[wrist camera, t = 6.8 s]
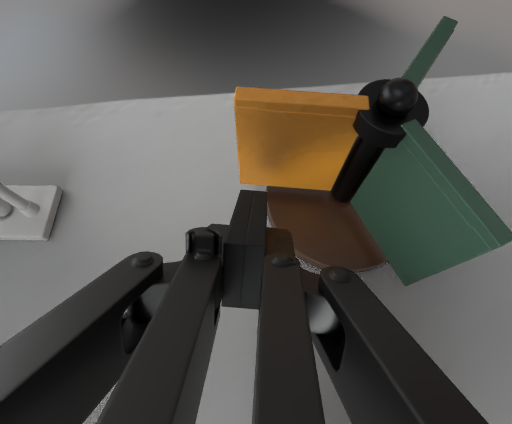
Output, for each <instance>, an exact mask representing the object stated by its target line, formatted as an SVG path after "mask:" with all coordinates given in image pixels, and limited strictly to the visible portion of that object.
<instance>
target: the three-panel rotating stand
mask: <svg viewBox="0 0 512 424" xmlns="http://www.w3.org/2000/svg"><path fill="white" fill-rule="evenodd" d="M456 25H457V21H456V20H453V19H451V18H448V17H446V16H444V17H443V18H442V19H441V21H440V22H439V24H438V25H437V26H436V28H435V29H434V31H433V32H432V34H431V35H430V37H429V38H428V40H427V41H426V42H425V44H424V45H423V47H422V48H421V50H420V51H419V53H418V54H417V55H416V57H415V59H414V60H413V61H412V63H411V64H410V66H409V67H408V68H407V70H406V71H405V73H404V74H403V76H402V77H401V78H395V79H392V80H390V79H384V80H377V81H374V82H371V83H369V84H367V85H366V86H365V87H364V88H362V90H361V91H360V92H359V94H358V95H348V94H334V93H320V92H306V91H292V90H278V89H264V88H250V87H236V90H235V96H234V104H235V106H234V108H235V121H236V134H237V147H238V160H239V173H240V183H241V184H252V185H264V186H277V187H289V188H302V189H314V190H327V191H331V189H332V195H333V197H334V198H335V199H336V200H337V201H339V202H344V203H345V202H349V201H350V203H351V204H352V206H353V207H354V209H355V211H356V212H357V214H358V215H359V217H360V218H361V220H362V221H363V223H364V224H365V226H366V227H367V229H368V230H369V232H370V233H371V235H372V237H373V238H374V240H375V241H376V243H377V244H378V246H379V247H380V249H381V250H382V252H383V253H384V255H385V256H386V258H387V259H388V261H389V263H390V264H391V266H392V267H393V269H394V270H395V272H396V273H397V275H398V276H399V278H400V279H401V281H402V283H403V284H404V285H405V286H407V285H410V284H412V283H414V282H417V281H419V280H422V279H424V278H427V277H429V276H431V275H434V274H436V273H439V272H441V271H443V270H446V269H448V268H451V267H453V266H455V265H458V264H460V263H463V262H465V261H467V260H470V259H472V258H475V257H477V256H479V255H482V254H484V253H487V252H489V251H491V250H494V249H496V248H498V247H501V246H503V245H505V244H506V243H508V242H510V241H512V232H511V231H510V229H509V228H508V227H507V226H506V225H505V223H504V222H503V221H502V220H501V219H500V218H499V216H498V215H497V214H496V213H495V212H494V211H493V209H492V208H491V207H490V206H489V205H488V203H487V202H486V201H485V200H484V199H483V198H482V196H481V195H480V194H479V193H478V192H477V191H476V189H475V188H474V187H473V186H472V185H471V183H470V182H469V181H468V180H467V179H466V178H465V176H464V175H463V174H462V173H461V172H460V171H459V169H458V168H457V167H456V166H455V165H454V163H453V162H452V161H451V160H450V159H449V158H448V156H447V155H446V154H445V153H444V152H443V150H442V149H441V148H440V147H439V146H438V145H437V143H436V142H435V141H434V140H433V139H432V138H431V136H430V135H429V134H428V133H427V132H426V130H425V129H424V128H423V126H424V125H425V124H426V122H427V120H428V116H429V108H428V104H427V102H426V100H425V98H424V97H423V96H422V94H421V93H420V92H419V91H418V90H417V88H418V87H419V85H420V84H421V82H422V80H423V79H424V77H425V76H426V74H427V72H428V71H429V69H430V67H431V66H432V64H433V63H434V61H435V60H436V58H437V57H438V55H439V53H440V52H441V50H442V49H443V47H444V45H445V44H446V42H447V41H448V39H449V37H450V36H451V34H452V33H453V31H454V28H455V26H456ZM357 135H358V136H357ZM356 137H357V139H356ZM355 139H356V141H355ZM354 141H355V143H354ZM353 144H354V145H353ZM352 146H353V147H352ZM351 148H352V149H351ZM350 150H351V151H350ZM349 152H350V153H349ZM348 154H349V155H348ZM347 156H348V157H347ZM346 158H347V159H346ZM345 160H346V161H345ZM344 162H345V163H344ZM343 164H344V165H343ZM342 166H343V167H342ZM341 168H342V169H341ZM340 170H341V171H340ZM339 172H340V173H339ZM338 174H339V175H338ZM337 176H338V177H337ZM336 178H337V179H336ZM335 180H336V181H335ZM332 187H333V188H332Z"/></svg>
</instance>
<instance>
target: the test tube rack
mask: <svg viewBox="0 0 512 424" xmlns="http://www.w3.org/2000/svg"><path fill="white" fill-rule="evenodd" d="M62 192H63V190H62V189H61V188H59V187H58V186H23V185H3V184H1V183H0V240H48V239H49V236H50V232H51V229H52V226H53V222H54V219H55V215H56V212H57V209H58V205H59V202H60V199H61V195H62Z"/></svg>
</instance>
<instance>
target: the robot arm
mask: <svg viewBox="0 0 512 424" xmlns="http://www.w3.org/2000/svg"><path fill="white" fill-rule="evenodd" d="M267 199H268V192H264V191H251V190H241V191H240V194H239V197H238V200H237V203H236V206H235V209H234V212H233V215H232V218H231V221H230V225H222V224H211V225H209V226H208V227H200V228H194V229H191V230H189V231H188V232H187V233H186V255H185V256H184V258H183V260H182V261H178V262H171V263H163V257H162V256H161V255H160V254H157V253H154V252H139V253H136V254H132V255H130V256H128V257H127V258H125V259H124V260H122V261H121V262H119V263H118V264H117V265H115V266H114V267H112V268H111V269H109V270H108V271H107V272H105V273H104V274H102V275H101V276H99V277H98V278H97V279H95V280H94V281H92V282H91V283H89V284H88V285H87V286H85V287H84V288H82V289H81V290H79V291H78V292H77V293H75V294H74V295H72V296H71V297H69V298H68V299H67V300H65V301H64V302H62V303H61V304H59V305H58V306H57V307H55V308H54V309H52V310H51V311H49V312H48V313H47V314H45V315H44V316H42V317H41V318H39V319H38V320H37V321H35V322H34V323H32V324H31V325H29V326H28V327H27V328H25V329H24V330H22V331H21V332H19V333H18V334H17V335H15V336H14V337H12V338H11V339H9V340H8V341H7V342H5V343H4V344H2V345H1V346H0V424H82V423H83V422H84V421H85V420H86V419H87V417H88V416H89V415H90V414H91V413H92V411H93V410H94V409H95V408H96V407H97V405H98V404H99V403H100V402H101V401H102V399H103V398H104V397H105V396H106V395H107V393H108V392H109V391H110V390H111V389H112V387H113V386H114V385H115V384H116V383H117V381H118V380H119V381H118V383H117V385H116V387H115V388H114V390H113V392H112V394H111V396H110V398H109V400H108V402H107V404H106V405H105V407H104V409H103V411H102V413H101V415H100V417H99V419H98V420H97V422H96V424H195V422H196V417H197V413H198V408H199V404H200V400H201V395H202V391H203V387H204V382H205V378H206V374H207V369H208V365H209V361H210V356H211V352H212V348H213V343H214V339H215V334H216V330H217V326H218V321H219V317H220V303H221V299H222V306H224V307H236V308H248V309H259V319H258V330H257V351H256V366H255V382H254V398H253V414H252V424H325V419H324V413H323V406H322V400H321V394H320V388H319V381H318V375H317V369H316V362H315V356H314V350H313V344H312V341H313V343H314V345H315V347H316V349H317V351H318V353H319V355H320V357H321V359H322V362H323V364H324V366H325V368H326V370H327V372H328V374H329V376H330V378H331V380H332V383H333V385H334V387H335V389H336V391H337V393H338V395H339V397H340V399H341V401H342V404H343V406H344V408H345V410H346V412H347V414H348V416H349V418H350V420H351V422H352V424H488V423H487V421H486V420H485V419H484V418H483V417H482V416H481V415H480V413H479V412H478V411H477V410H476V409H475V408H474V407H473V406H472V404H471V403H470V402H469V401H468V400H467V399H466V398H465V396H464V395H463V394H462V393H461V392H460V391H459V390H458V389H457V387H456V386H455V385H454V384H453V383H452V382H451V381H450V379H449V378H448V377H447V376H446V375H445V374H444V373H443V372H442V370H441V369H440V368H439V367H438V366H437V365H436V364H435V362H434V361H433V360H432V359H431V358H430V357H429V356H428V355H427V353H426V352H425V351H424V350H423V349H422V348H421V347H420V345H419V344H418V343H417V342H416V341H415V340H414V339H413V338H412V336H411V335H410V334H409V333H408V332H407V331H406V330H405V328H404V327H403V326H402V325H401V324H400V323H399V322H398V321H397V319H396V318H395V317H394V316H393V315H392V314H391V313H390V312H389V310H388V309H387V308H386V307H385V306H384V305H383V304H382V302H381V301H380V300H379V299H378V298H377V297H376V296H375V295H374V293H373V292H372V291H371V290H370V289H369V288H368V287H367V285H366V284H365V283H364V282H363V281H362V280H361V279H360V278H359V276H358V275H357V274H355V273H354V272H353V271H351V270H349V269H347V268H345V267H341V266H329V267H325V268H323V269H322V270H321V272H320V275H319V274H315V273H312V272H309V271H306V270H304V269H302V268H301V267H300V262H299V261H298V259H297V258H296V257H295V251H294V245H293V237H292V233H291V232H290V231H289V230H288V229H283V228H270V227H266V223H267ZM126 309H127V312H126V313H125V314H124V312H125V311H126ZM123 314H124V315H123Z"/></svg>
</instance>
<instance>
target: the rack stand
mask: <svg viewBox="0 0 512 424" xmlns="http://www.w3.org/2000/svg"><path fill="white" fill-rule="evenodd" d="M356 139H357V137H356ZM356 139H355V141H356ZM355 141H354V143H355ZM353 145H354V144H353ZM352 147H353V146H352ZM351 149H352V148H351ZM350 151H351V150H350ZM349 153H350V152H349ZM348 155H349V154H348ZM347 157H348V156H347ZM346 159H347V158H346ZM345 161H346V160H345ZM344 163H345V162H344ZM343 165H344V164H343ZM342 167H343V166H342ZM341 169H342V168H341ZM340 171H341V170H340ZM339 173H340V172H339ZM338 175H339V174H338ZM337 177H338V176H337ZM336 179H337V178H336ZM335 181H336V180H335ZM332 188H333V187H332ZM266 192H268V199H267V214H268V217H269V221H270V223H271V225H272V228H283V229H288V230H289V231H290V232H291V233H292V237H293V245H294V251H295V255H296V256H297V257H299V258H300V259H302V260H304V261H305V262H307V263H309V264H311V265H313V266H316V267H318V268H321V269H323V268H325V267H329V266H341V267H345V268H347V269H349V270H351V271H353V272H362V271H366V270H370V269H373V268H375V267H377V266H380V265H382V264H383V263H385V262H387V261H388V259H387V258H386V256H385V255H384V253H383V252H382V250H381V249H380V247H379V246H378V244H377V243H376V241H375V240H374V238H373V237H372V235H371V233H370V232H369V230H368V229H367V227H366V226H365V224H364V223H363V221H362V220H361V218H360V217H359V215H358V214H357V212H356V211H355V209H354V207H353V206H352V204H351V203H350V201H349V202H345V203H344V202H339V201H337V200H336V199H335V198H334V197H333V195H332V189H331V191H327V190H314V189H302V188H289V187H277V186H267V188H266Z"/></svg>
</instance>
